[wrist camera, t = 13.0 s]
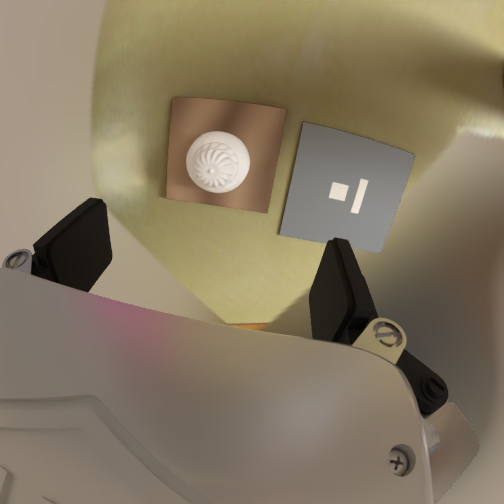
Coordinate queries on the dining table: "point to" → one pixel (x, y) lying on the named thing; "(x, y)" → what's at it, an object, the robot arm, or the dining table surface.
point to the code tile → (344, 188)
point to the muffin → (218, 161)
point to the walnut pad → (233, 122)
